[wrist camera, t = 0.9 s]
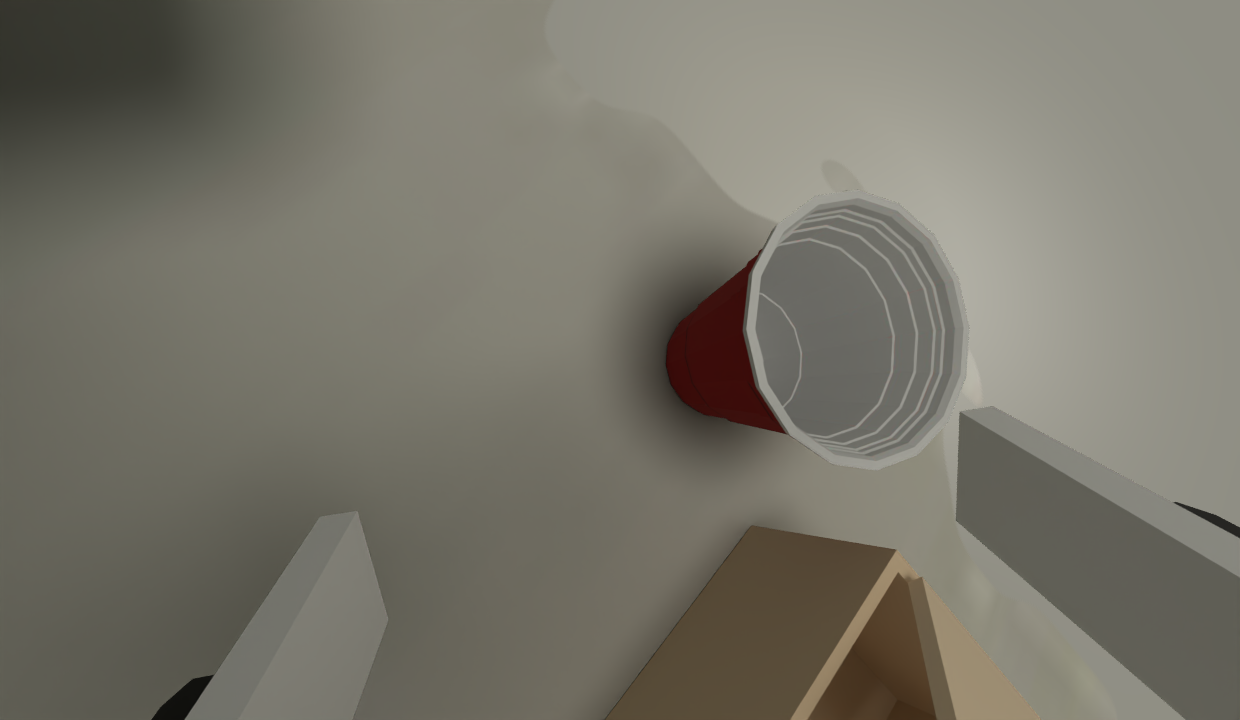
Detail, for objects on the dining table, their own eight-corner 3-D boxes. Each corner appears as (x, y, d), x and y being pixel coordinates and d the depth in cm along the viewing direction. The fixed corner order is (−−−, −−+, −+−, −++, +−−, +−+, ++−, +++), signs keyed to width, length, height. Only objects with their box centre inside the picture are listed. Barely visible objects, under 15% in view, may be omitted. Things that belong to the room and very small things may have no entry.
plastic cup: (593, 429, 32) (723, 413, 21) (651, 239, 35) (792, 139, 24) (767, 492, 35) (956, 507, 24) (807, 315, 38) (992, 258, 27)
